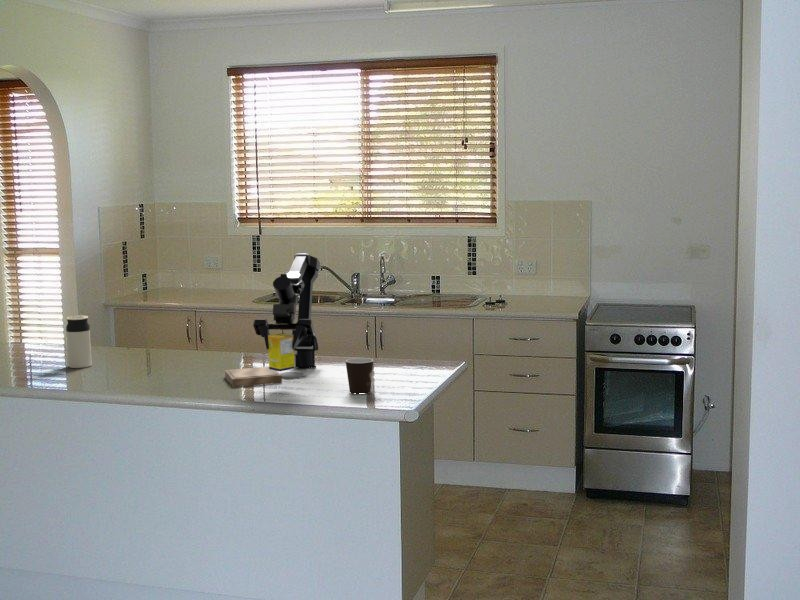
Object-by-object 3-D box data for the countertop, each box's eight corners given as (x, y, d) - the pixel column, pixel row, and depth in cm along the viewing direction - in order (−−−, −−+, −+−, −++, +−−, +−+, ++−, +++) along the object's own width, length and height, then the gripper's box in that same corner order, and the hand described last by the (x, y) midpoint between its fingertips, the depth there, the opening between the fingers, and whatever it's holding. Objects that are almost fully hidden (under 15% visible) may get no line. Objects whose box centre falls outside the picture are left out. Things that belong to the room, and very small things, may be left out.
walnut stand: (272, 373, 326) (271, 365, 326) (281, 382, 311) (281, 374, 311) (225, 377, 321) (224, 369, 321) (232, 387, 306) (232, 378, 306)
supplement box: (283, 366, 307) (282, 332, 305) (295, 368, 303) (294, 334, 301) (268, 369, 303) (267, 335, 301) (280, 371, 298) (279, 337, 297)
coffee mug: (363, 396, 290) (363, 364, 289) (340, 393, 295) (340, 361, 293) (384, 389, 300) (384, 357, 299) (361, 386, 304) (361, 355, 303)
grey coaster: (301, 372, 327) (300, 370, 327) (307, 377, 319) (307, 375, 318) (275, 374, 324) (275, 373, 324) (280, 379, 316) (280, 378, 316)
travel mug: (77, 369, 339) (74, 319, 336) (64, 367, 343) (60, 317, 341) (96, 365, 345) (93, 316, 343) (83, 363, 350) (80, 314, 347)
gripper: (253, 294, 304) (245, 334, 295) (311, 293, 302) (305, 334, 293) (260, 314, 313) (253, 354, 304) (316, 314, 311) (310, 354, 302)
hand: (280, 348), depth 300 cm, fingers closed on supplement box, 8 cm apart
